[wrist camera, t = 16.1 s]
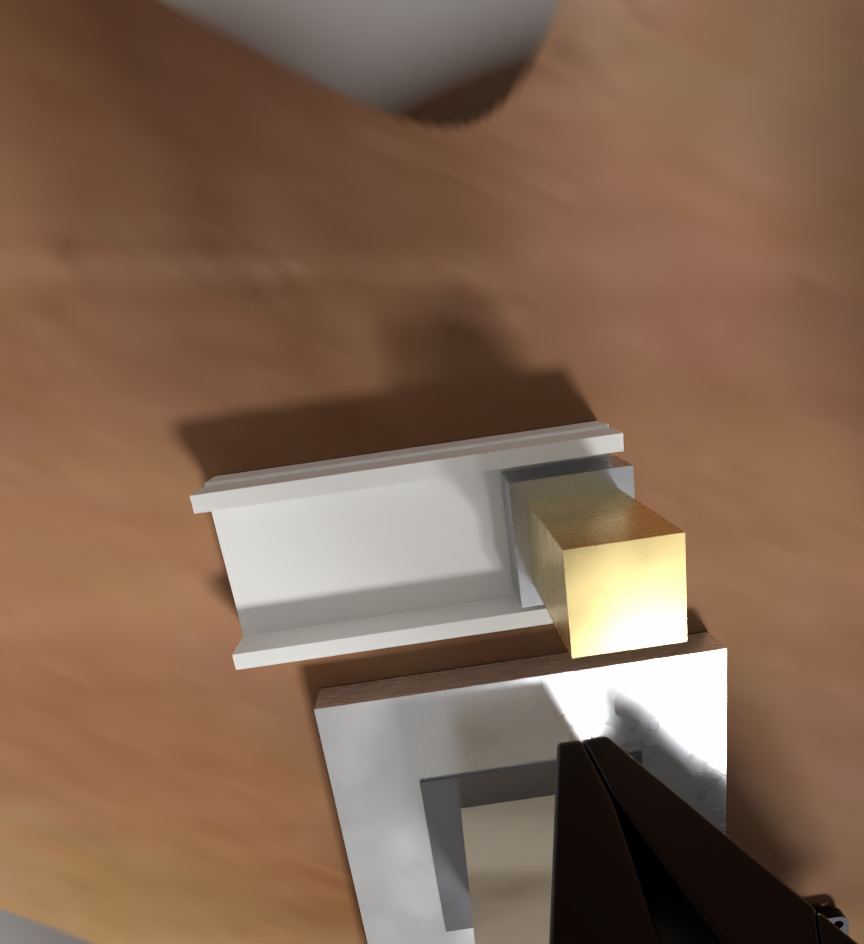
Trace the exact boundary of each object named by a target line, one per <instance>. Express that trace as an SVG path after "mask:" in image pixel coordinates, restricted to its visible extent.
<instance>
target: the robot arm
mask: <svg viewBox="0 0 864 944" xmlns="http://www.w3.org/2000/svg"><path fill="white" fill-rule="evenodd" d="M848 926H849V922H848V920H847V918H846V917H845V916H844V914H843V913H842V912H841V911H840V909H838V908H827V909H820V910H815V909H814V908H813V907H812V906H811V905H810V904H809V903H807V902H806V901H805V900H804V899H803V898H801V897H800V896H799V895H798V894H797V893H795V892H794V891H793V890H792V889H791V888H789V887H788V886H787V885H786V884H785V883H783V882H782V881H781V880H780V879H779V878H777V877H776V876H775V875H774V874H772V873H771V872H770V871H769V870H768V869H766V868H765V867H764V866H763V865H762V864H760V863H759V862H758V861H757V860H756V859H754V858H753V857H752V856H751V855H750V854H748V853H747V852H746V851H745V850H744V849H742V848H741V847H740V846H739V845H737V844H736V843H735V842H734V841H733V840H731V839H730V838H729V837H728V836H727V835H725V834H724V833H723V832H722V831H721V830H719V829H718V828H717V827H716V826H715V825H713V824H712V823H711V822H710V821H709V820H707V819H706V818H705V817H704V816H703V815H701V814H700V813H699V812H698V811H696V810H695V809H694V808H693V807H692V806H690V805H689V804H688V803H687V802H686V801H684V800H683V799H682V798H681V797H680V796H678V795H677V794H676V793H675V792H674V791H672V790H671V789H670V788H669V787H668V786H666V785H665V784H664V783H663V782H662V781H660V780H659V779H658V778H657V777H655V776H654V775H653V774H652V773H651V772H649V771H648V770H647V769H646V768H645V767H643V766H642V765H641V764H640V763H639V762H637V761H636V760H635V759H634V758H633V757H631V756H630V755H629V754H628V753H627V752H625V751H624V750H623V749H622V748H620V747H619V746H618V745H617V744H616V743H614V742H613V741H612V740H611V739H610V738H608V737H605V736H601V737H594V738H588V739H585V740H584V741H583V742H581V741H579V740H574V741H568V742H561V743H559V744H558V745H557V758H556V783H555V808H554V833H553V858H552V883H551V908H550V933H549V944H857V943H856V942H855V941H854V940H852V939H851V938H850V937H849V936H848Z"/></svg>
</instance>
